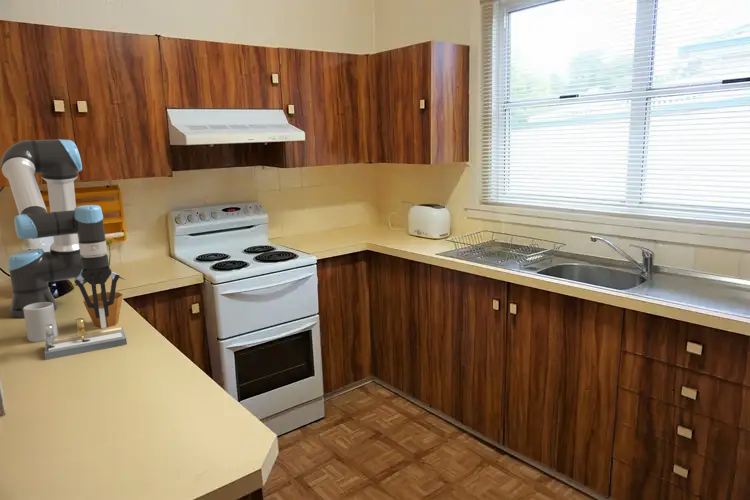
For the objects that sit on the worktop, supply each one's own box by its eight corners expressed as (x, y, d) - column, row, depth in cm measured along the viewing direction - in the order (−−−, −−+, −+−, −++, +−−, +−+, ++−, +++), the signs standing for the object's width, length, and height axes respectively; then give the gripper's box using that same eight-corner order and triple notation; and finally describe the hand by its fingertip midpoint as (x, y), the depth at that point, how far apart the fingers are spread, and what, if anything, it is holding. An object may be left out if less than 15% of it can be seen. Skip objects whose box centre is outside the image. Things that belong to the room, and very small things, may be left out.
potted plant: (122, 312, 201) (112, 233, 195) (141, 324, 188) (132, 239, 182) (69, 324, 189) (57, 241, 183) (86, 337, 176) (74, 248, 170)
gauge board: (46, 346, 169) (45, 337, 169) (123, 332, 180) (122, 324, 179) (45, 359, 159) (44, 350, 158) (126, 344, 169) (125, 335, 169)
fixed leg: (47, 339, 167) (44, 323, 166) (54, 338, 168) (52, 322, 167) (46, 347, 161) (44, 331, 160) (54, 345, 162) (51, 329, 161)
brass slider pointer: (78, 333, 171) (76, 317, 170) (85, 332, 172) (83, 316, 171) (79, 341, 165) (76, 324, 164) (86, 339, 166) (84, 323, 165)
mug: (56, 339, 175) (51, 307, 173) (25, 344, 172) (20, 311, 170) (61, 328, 186) (56, 297, 184) (32, 332, 183) (27, 301, 180)
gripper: (70, 259, 161) (80, 334, 166) (118, 254, 168) (126, 326, 172) (70, 255, 168) (80, 327, 173) (116, 250, 174) (124, 319, 179)
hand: (103, 326), depth 173 cm, fingers closed
